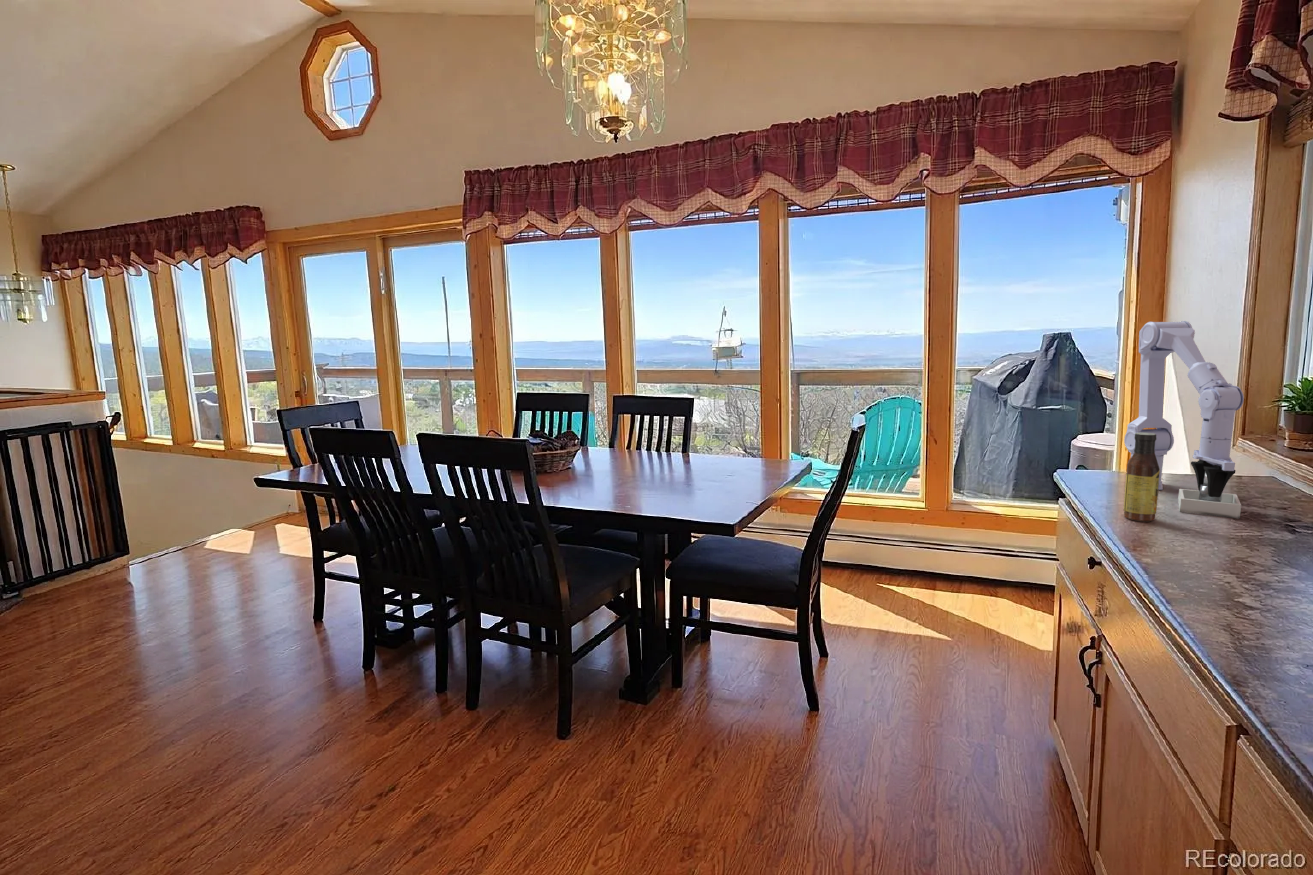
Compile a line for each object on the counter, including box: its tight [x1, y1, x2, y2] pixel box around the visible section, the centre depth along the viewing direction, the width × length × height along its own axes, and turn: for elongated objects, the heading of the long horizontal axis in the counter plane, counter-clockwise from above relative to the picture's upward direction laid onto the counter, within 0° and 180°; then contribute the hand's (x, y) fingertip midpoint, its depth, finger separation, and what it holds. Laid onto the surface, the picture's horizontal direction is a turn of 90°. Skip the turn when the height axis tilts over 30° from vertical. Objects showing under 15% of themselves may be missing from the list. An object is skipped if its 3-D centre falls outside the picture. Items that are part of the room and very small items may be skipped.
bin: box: [1177, 488, 1242, 520], centre depth 167 cm, size 11×11×3 cm
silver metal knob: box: [1199, 472, 1222, 502], centre depth 166 cm, size 4×4×7 cm
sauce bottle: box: [1123, 433, 1160, 522], centre depth 160 cm, size 7×6×20 cm
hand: (1209, 494), depth 167 cm, fingers closed on silver metal knob, 4 cm apart
